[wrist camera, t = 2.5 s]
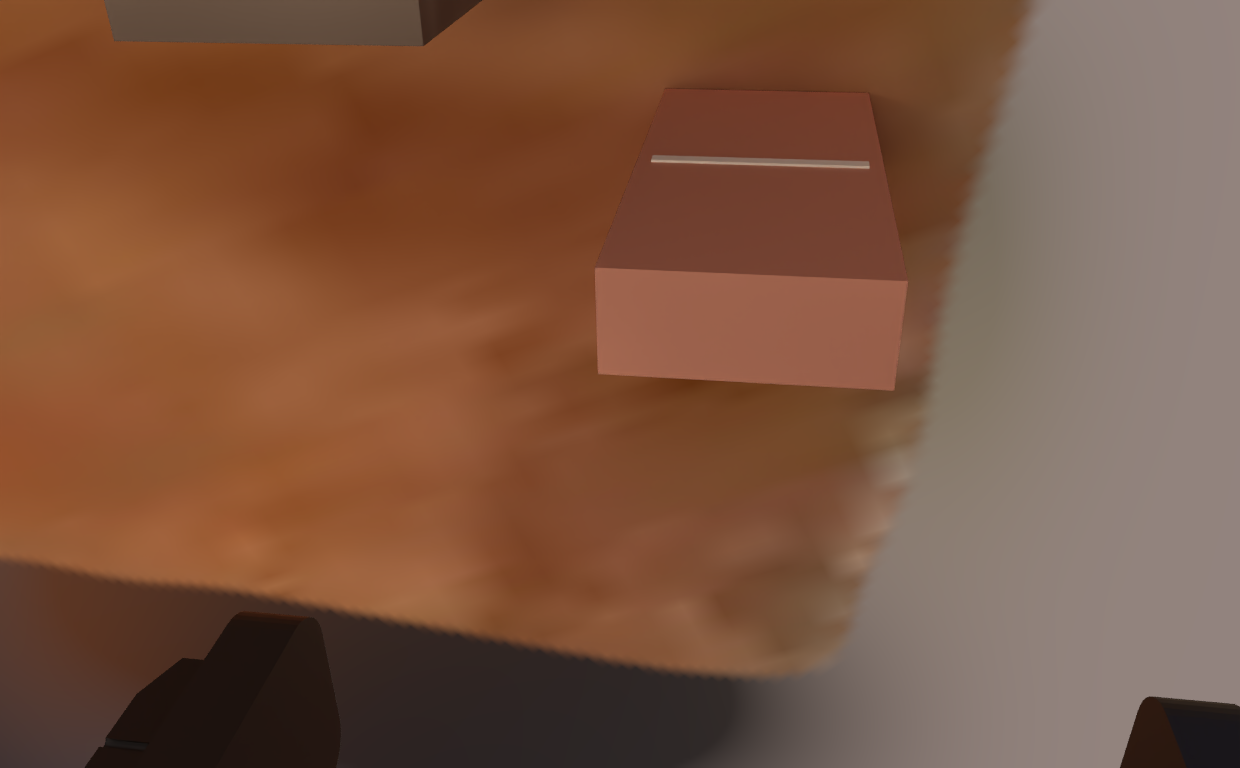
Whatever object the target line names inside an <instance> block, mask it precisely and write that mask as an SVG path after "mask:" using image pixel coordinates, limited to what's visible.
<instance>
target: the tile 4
mask: <svg viewBox="0 0 1240 768" xmlns="http://www.w3.org/2000/svg"><path fill="white" fill-rule="evenodd" d="M481 1H482V0H104V2H105V6H106V10H107V14H108V18H109V22H110V26H111V30H112V34H113V38H114V41H145V42H204V43H263V44H323V45H382V46H424V45H425V44H427V43H428V42H429V41H431V40H432V39H433V38H434V37H436V36H437V35H438V34H440V33H441V32H442V31H443V30H445V29H446V28H447V27H449V26H450V25H451V24H452V23H454V22H455V21H456V20H458V19H459V18H460V17H461V16H463V15H464V14H465V13H467V12H468V11H469V10H470V9H472V8H473V7H474V6H475V5H477V4H478V3H479V2H481Z"/></svg>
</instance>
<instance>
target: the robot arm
mask: <svg viewBox="0 0 1240 768" xmlns="http://www.w3.org/2000/svg"><path fill="white" fill-rule="evenodd" d="M340 742H341V723H340V716H339V712H338V707H337V702H336V697H335V692H334V687H333V682H332V677H331V672H330V667H329V663H328V658H327V653H326V648H325V643H324V638H323V634H322V630H321V627H320V624H319V623H318V621H317V620H316V619H315V618H312V617H303V616H292V615H281V614H270V613H259V612H248V611H243V612H240V613H238V614H237V615H235V616H234V617H233V618H232V619H231V621H230V622H229V623H228V625H227V626H226V627H225V629H224V630H223V632H222V634H221V635H220V637H219V638H218V640H217V641H216V643H215V644H214V646H213V647H212V649H211V650H210V652H209V653H208V655H207V656H206V658H205V659H204V660H198V659H188V658H182V659H181V660H180V661H178V662H177V663H176V664H174V665H173V666H172V667H171V668H169V669H168V670H167V671H165V672H164V673H163V674H162V675H160V676H159V677H158V678H157V679H155V680H154V681H153V682H152V683H150V684H149V685H148V686H146V687H145V688H144V689H142V690H141V691H140V692H139V693H137V694H136V696H135V697H134V699H133V700H132V701H131V703H130V704H129V706H128V707H127V708H126V710H125V711H124V713H123V714H122V715H121V717H120V718H119V720H118V721H117V723H116V724H115V725H114V727H113V728H112V730H111V731H110V733H109V734H108V735H107V737H106V742H105V745H104V747H99V748H98V750H97V751H96V752H95V754H94V755H93V757H92V758H91V760H90V761H89V762H88V763H87V765H86V766H85V768H336V766H337V763H338V758H339V752H340ZM1120 768H1240V707H1239V706H1237V705H1235V704H1228V703H1217V702H1206V701H1195V700H1183V699H1172V698H1161V697H1147V698H1145V699H1144V700H1143V702H1142V703H1141V705H1140V707H1139V710H1138V712H1137V715H1136V719H1135V722H1134V725H1133V728H1132V732H1131V734H1130V738H1129V741H1128V744H1127V748H1126V750H1125V754H1124V757H1123V760H1122V763H1121V767H1120Z"/></svg>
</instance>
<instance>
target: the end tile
mask: <svg viewBox="0 0 1240 768" xmlns="http://www.w3.org/2000/svg"><path fill="white" fill-rule="evenodd" d="M907 286H908V278H907V273H906V268H905V264H904V259H903V254H902V249H901V245H900V240H899V235H898V230H897V225H896V221H895V216H894V211H893V206H892V201H891V197H890V192H889V187H888V182H887V177H886V173H885V168H884V163H883V158H882V153H881V149H880V144H879V139H878V134H877V129H876V125H875V120H874V115H873V110H872V106H871V101H870V96H869V93H851V92H804V91H757V90H710V89H665V91H664V93H663V96H662V98H661V101H660V104H659V106H658V109H657V111H656V114H655V116H654V119H653V121H652V124H651V126H650V129H649V131H648V134H647V137H646V139H645V142H644V144H643V147H642V149H641V152H640V154H639V157H638V159H637V162H636V164H635V167H634V170H633V172H632V175H631V177H630V180H629V182H628V185H627V187H626V190H625V192H624V195H623V197H622V200H621V203H620V205H619V208H618V210H617V213H616V215H615V218H614V220H613V223H612V225H611V228H610V230H609V233H608V236H607V238H606V241H605V243H604V246H603V248H602V251H601V253H600V256H599V258H598V261H597V263H596V266H595V290H596V322H597V354H598V374H608V375H626V376H644V377H661V378H679V379H697V380H715V381H732V382H750V383H768V384H786V385H803V386H821V387H839V388H857V389H874V390H892V391H894V387H895V379H896V371H897V364H898V356H899V348H900V341H901V333H902V325H903V317H904V310H905V302H906V294H907Z"/></svg>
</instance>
